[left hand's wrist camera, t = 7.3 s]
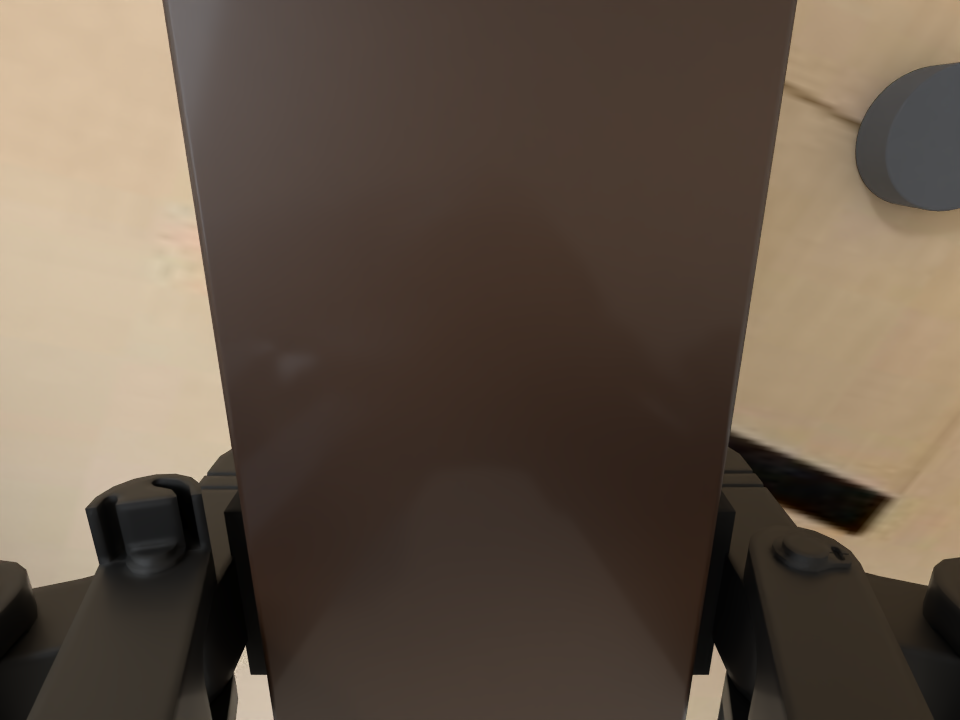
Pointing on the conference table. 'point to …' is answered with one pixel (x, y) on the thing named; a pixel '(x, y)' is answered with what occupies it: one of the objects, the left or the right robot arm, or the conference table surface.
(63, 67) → the conference table surface
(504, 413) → the bar
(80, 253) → the conference table surface
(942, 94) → the puck
